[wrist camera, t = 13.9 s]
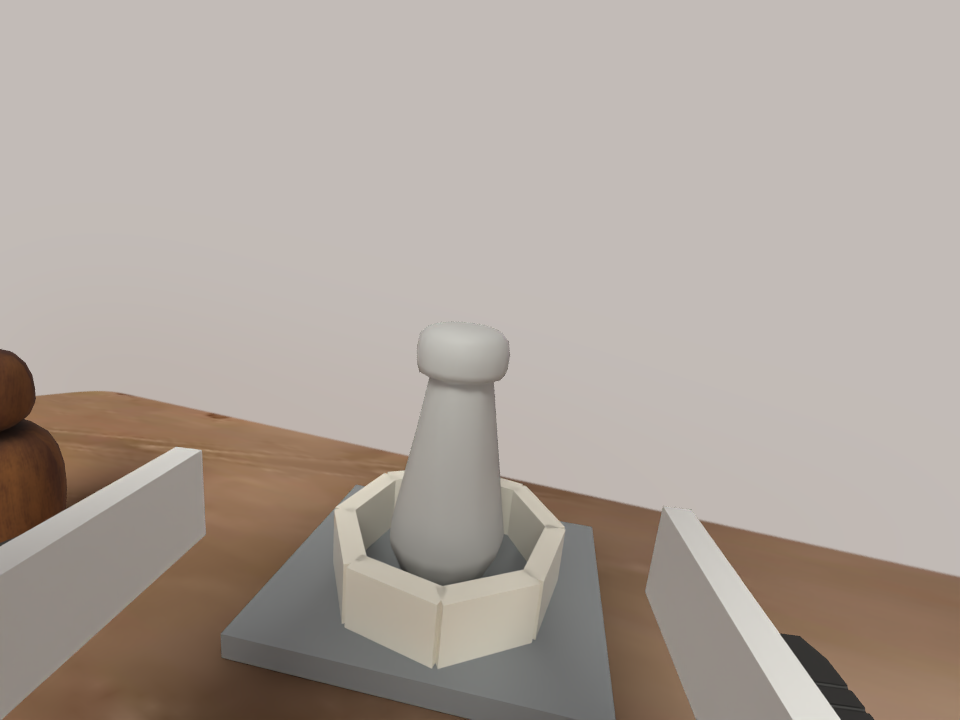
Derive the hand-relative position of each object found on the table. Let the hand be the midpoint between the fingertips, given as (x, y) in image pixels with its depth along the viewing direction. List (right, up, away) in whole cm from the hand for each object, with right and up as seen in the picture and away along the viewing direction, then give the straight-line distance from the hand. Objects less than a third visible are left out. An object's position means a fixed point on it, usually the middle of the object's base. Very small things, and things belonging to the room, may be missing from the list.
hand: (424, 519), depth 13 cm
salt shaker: (0, -7, +11) cm, 13 cm away
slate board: (0, -8, +11) cm, 14 cm away
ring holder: (0, -6, +11) cm, 13 cm away
